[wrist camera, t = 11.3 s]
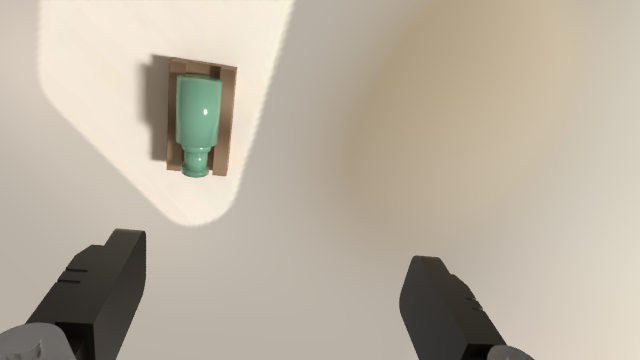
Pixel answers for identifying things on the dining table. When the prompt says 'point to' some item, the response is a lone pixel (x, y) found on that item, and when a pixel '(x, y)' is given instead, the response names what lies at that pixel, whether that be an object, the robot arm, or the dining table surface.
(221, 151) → the bottle rest
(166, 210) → the dining table surface
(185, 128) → the bottle
